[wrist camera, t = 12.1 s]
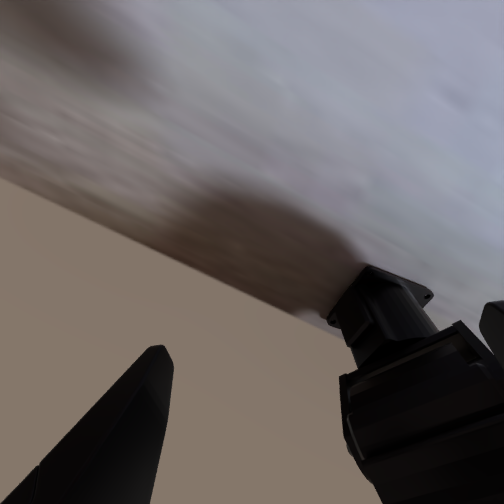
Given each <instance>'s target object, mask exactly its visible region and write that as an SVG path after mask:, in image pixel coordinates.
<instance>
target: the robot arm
mask: <svg viewBox="0 0 504 504" xmlns="http://www.w3.org/2000/svg"><path fill="white" fill-rule="evenodd" d="M369 272H372V273H371V274H368V273H369ZM425 295H426V296H425ZM433 296H434V294H433V293H432V291H431V290H429V289H427V288H425V287H422V286H420V285H417V284H415V283H412V282H410V281H407V280H405V279H402V278H400V277H397V276H395V275H392V274H390V273H387V272H385V271H382V270H380V269H377V268H374V267H371V266H369V267H366V268H365V269H364V270H363V271H362V272H361V273H360V275H359V276H358V277H357V279H356V280H355V281H354V283H353V284H352V285H351V286H350V287H349V288H348V289H347V291H346V292H345V293H344V295H343V296H342V297H341V299H340V300H339V301H338V303H337V304H336V305H335V307H334V309H333V310H332V311H331V313H330V314H329V315H328V317H327V323H328V325H330V326H332V327H335V328H338V329H341V331H342V334H343V337H344V339H345V342H346V345H347V347H350V348H351V351H352V354H353V356H354V359H355V362H356V365H357V368H358V369H357V370H355V371H353V372H351V373H349V374H343V375H341V376H339V385H340V401H341V413H342V425H343V435H344V439H345V441H346V443H347V449H348V452H349V454H350V455H351V456H353V457H354V459H355V461H356V463H357V465H358V467H359V469H360V470H361V472H362V473H363V475H364V476H365V477H366V479H367V480H369V482H371V483H372V484H373V485H374V487H375V489H376V491H377V493H378V495H379V497H380V499H381V501H382V503H383V504H504V300H501V301H493V302H488V303H486V304H485V306H484V309H483V312H482V316H481V319H480V322H479V329H480V332H481V334H482V336H483V337H484V339H485V341H486V342H487V344H488V346H489V347H490V349H491V351H492V352H493V353H492V352H491V351H490V350H489V349H488V348H487V347H486V346H485V345H484V344H483V343H482V342H481V341H480V340H479V339H478V338H477V337H476V336H475V335H474V334H473V333H472V331H471V330H470V329H469V328H468V327H467V326H466V325H465V324H464V323H463V322H462V321H461V320H460V321H457V322H455V323H453V324H452V325H453V326H450V327H448V328H446V329H444V330H442V331H440V332H439V330H438V329H437V327H436V326H435V325H434V323H433V322H432V321H431V319H430V318H429V317H428V315H427V314H426V313H425V311H424V310H423V309H422V308H423V307H424V306H425V305H426V304H427V303H428V302H429V301H430V300H431V299H432V298H433ZM331 320H333V321H331ZM493 354H494V355H493ZM173 372H174V366H173V361H172V359H171V357H170V355H169V353H168V351H167V349H166V348H165V346H163V345H155V346H150V347H149V348H147V349H146V350H145V352H144V353H143V354H142V355H141V356H140V357H139V358H138V359H137V360H136V361H135V362H134V363H133V364H132V365H131V367H130V368H129V369H128V370H127V371H126V372H125V373H124V374H123V375H122V376H121V377H120V378H119V379H118V380H117V381H116V382H115V383H114V385H113V386H112V387H111V388H110V389H109V390H108V391H107V392H106V393H105V394H104V395H103V396H102V397H101V398H100V399H99V400H98V401H97V402H96V403H95V405H94V406H93V407H92V408H91V409H90V410H89V411H88V412H87V413H86V414H85V415H84V416H83V417H82V418H81V419H80V420H79V421H78V423H77V424H76V425H75V426H74V427H73V428H72V429H71V430H70V431H69V432H68V433H67V434H66V435H65V436H64V438H63V439H62V440H61V441H60V442H59V443H58V444H57V445H56V446H55V447H54V448H53V449H52V450H51V451H50V452H49V453H48V454H47V455H46V457H45V458H44V459H43V460H42V461H41V462H40V464H39V465H38V466H36V467H35V468H34V469H33V470H32V471H31V472H30V473H29V474H28V475H27V477H26V478H25V479H24V480H23V481H22V482H21V483H20V484H19V485H18V486H17V487H16V488H15V489H14V490H13V491H12V492H11V493H10V494H9V495H8V496H7V497H6V498H5V499H4V500H3V501H2V502H1V503H0V504H150V500H151V495H152V491H153V487H154V482H155V477H156V473H157V468H158V464H159V459H160V455H161V450H162V446H163V441H164V436H165V431H166V427H167V422H168V415H169V406H170V398H171V389H172V380H173Z"/></svg>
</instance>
